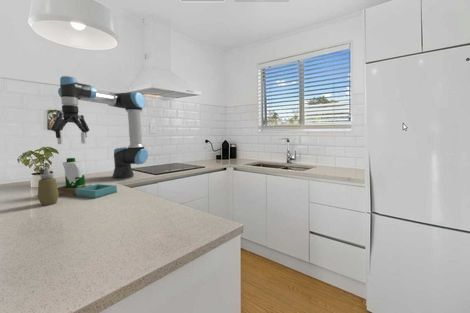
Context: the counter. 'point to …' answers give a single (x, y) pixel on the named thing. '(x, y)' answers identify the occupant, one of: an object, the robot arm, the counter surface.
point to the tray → (96, 191)
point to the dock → (68, 191)
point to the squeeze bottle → (47, 188)
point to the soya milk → (74, 173)
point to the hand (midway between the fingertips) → (72, 143)
